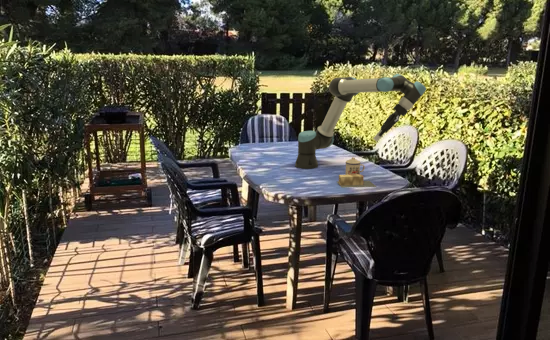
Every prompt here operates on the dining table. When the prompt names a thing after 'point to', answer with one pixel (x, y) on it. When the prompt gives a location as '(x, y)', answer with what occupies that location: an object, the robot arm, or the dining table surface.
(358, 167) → the teacup with lid
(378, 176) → the dining table surface
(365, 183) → the mat
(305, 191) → the dining table surface
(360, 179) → the birch block
